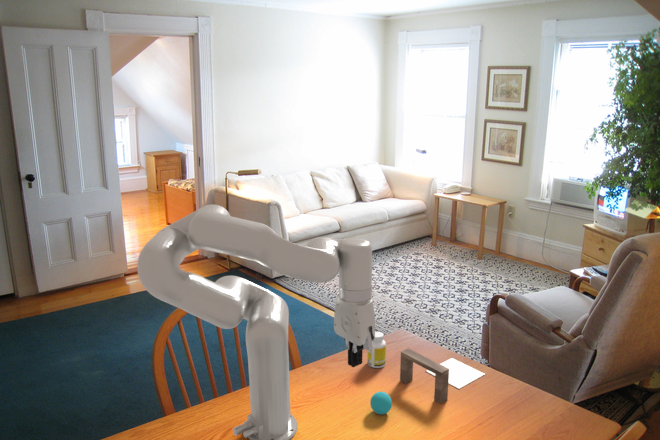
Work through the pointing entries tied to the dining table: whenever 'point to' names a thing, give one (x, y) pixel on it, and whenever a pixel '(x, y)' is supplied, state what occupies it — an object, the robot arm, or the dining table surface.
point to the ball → (381, 403)
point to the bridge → (439, 370)
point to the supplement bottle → (377, 351)
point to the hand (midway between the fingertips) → (355, 364)
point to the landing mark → (459, 373)
